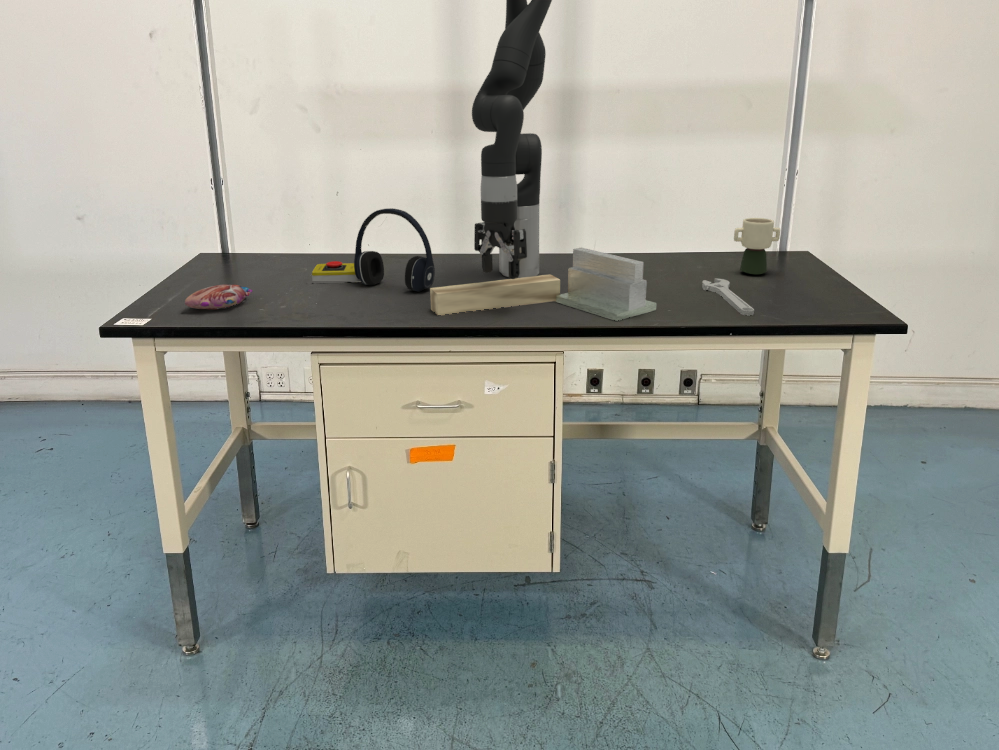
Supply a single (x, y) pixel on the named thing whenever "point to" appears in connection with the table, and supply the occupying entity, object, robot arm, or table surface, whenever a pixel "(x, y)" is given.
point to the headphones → (371, 262)
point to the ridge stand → (606, 285)
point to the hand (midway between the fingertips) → (500, 275)
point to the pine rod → (494, 294)
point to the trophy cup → (756, 243)
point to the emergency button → (334, 272)
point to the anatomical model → (217, 297)
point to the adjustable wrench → (728, 295)
